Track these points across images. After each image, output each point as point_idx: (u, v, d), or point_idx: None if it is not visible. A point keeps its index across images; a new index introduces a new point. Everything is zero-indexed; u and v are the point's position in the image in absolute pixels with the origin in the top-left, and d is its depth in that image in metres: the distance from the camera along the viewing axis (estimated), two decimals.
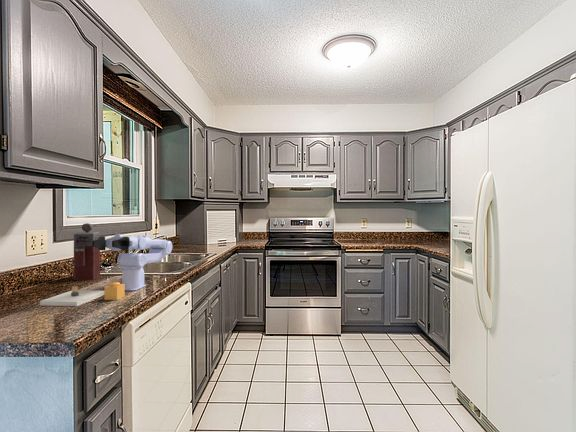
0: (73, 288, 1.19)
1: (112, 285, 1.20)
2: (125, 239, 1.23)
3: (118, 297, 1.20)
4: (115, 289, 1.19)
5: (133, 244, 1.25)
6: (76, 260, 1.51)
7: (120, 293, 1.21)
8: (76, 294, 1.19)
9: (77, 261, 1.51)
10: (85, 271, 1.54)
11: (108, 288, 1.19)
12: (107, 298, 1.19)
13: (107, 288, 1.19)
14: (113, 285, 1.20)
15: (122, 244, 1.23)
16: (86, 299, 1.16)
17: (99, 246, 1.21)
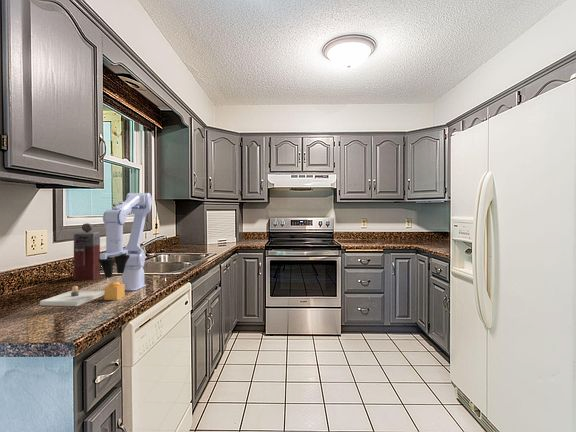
0: (73, 288, 1.19)
1: (112, 285, 1.20)
2: None
3: (118, 297, 1.20)
4: (115, 289, 1.19)
5: None
6: (76, 260, 1.51)
7: (120, 293, 1.21)
8: (76, 294, 1.19)
9: (77, 261, 1.51)
10: (85, 271, 1.54)
11: (108, 288, 1.19)
12: (107, 298, 1.19)
13: (107, 288, 1.19)
14: (113, 285, 1.20)
15: None
16: (86, 299, 1.16)
17: None
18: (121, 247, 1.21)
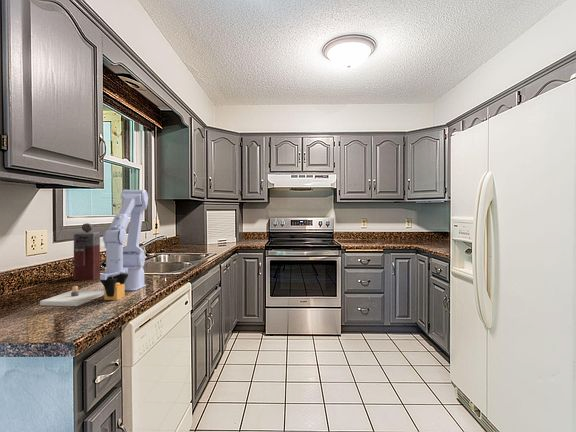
0: (73, 288, 1.19)
1: None
2: None
3: (118, 297, 1.20)
4: (115, 289, 1.19)
5: None
6: (76, 260, 1.51)
7: (120, 293, 1.21)
8: (76, 294, 1.19)
9: (77, 261, 1.51)
10: (85, 271, 1.54)
11: None
12: (107, 298, 1.19)
13: None
14: None
15: None
16: (86, 299, 1.16)
17: None
18: (121, 266, 1.21)
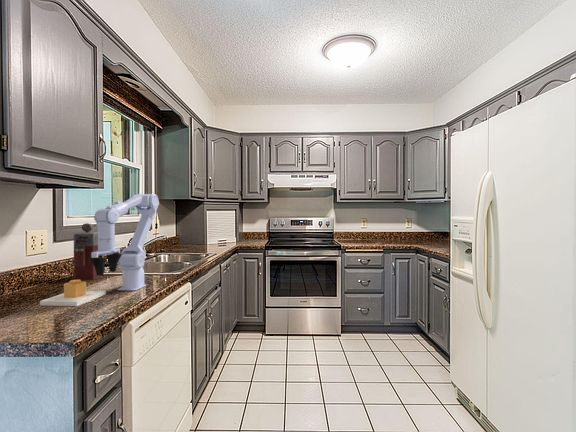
0: None
1: (72, 282, 1.18)
2: None
3: (77, 295, 1.18)
4: (74, 286, 1.17)
5: None
6: (76, 260, 1.51)
7: (80, 291, 1.19)
8: None
9: (77, 261, 1.51)
10: (85, 271, 1.54)
11: (67, 285, 1.17)
12: (66, 295, 1.17)
13: (66, 285, 1.17)
14: (73, 282, 1.18)
15: None
16: (86, 299, 1.16)
17: None
18: (113, 246, 1.23)
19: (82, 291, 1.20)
